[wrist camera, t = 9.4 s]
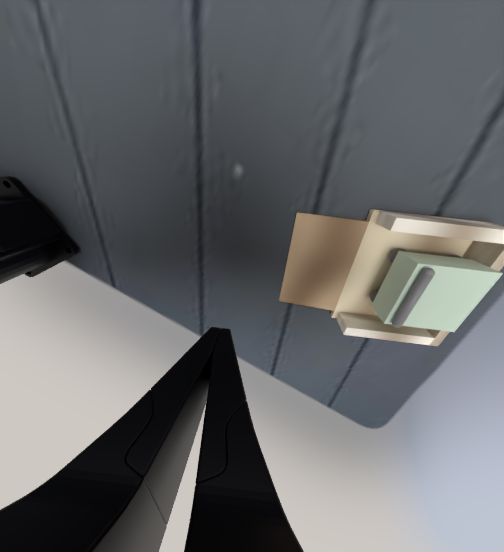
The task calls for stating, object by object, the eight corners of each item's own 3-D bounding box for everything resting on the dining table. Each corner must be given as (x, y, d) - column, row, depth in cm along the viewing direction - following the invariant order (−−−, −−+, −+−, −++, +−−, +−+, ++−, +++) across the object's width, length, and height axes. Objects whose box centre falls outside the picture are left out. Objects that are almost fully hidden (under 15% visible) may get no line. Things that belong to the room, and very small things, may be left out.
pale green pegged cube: (365, 298, 17) (388, 329, 14) (390, 245, 14) (425, 268, 11) (424, 305, 17) (461, 338, 13) (458, 253, 14) (514, 278, 11)
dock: (277, 304, 19) (278, 326, 16) (298, 199, 14) (305, 207, 12) (414, 321, 19) (437, 346, 16) (481, 220, 14) (530, 233, 11)
